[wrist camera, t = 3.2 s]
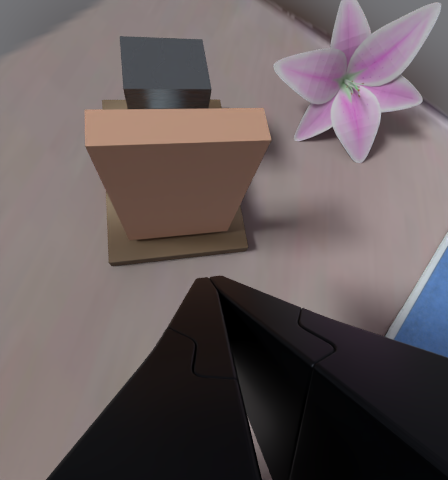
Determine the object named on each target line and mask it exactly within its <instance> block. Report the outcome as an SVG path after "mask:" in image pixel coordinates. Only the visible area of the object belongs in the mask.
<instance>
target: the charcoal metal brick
mask: <svg viewBox="0 0 448 480" xmlns="http://www.w3.org/2000/svg"><path fill="white" fill-rule="evenodd" d="M120 46H121V60H122V75H123V89H124V94H125V99H126V104H127V108H128V109H159V108H185V109H209V102H210V95H211V85H210V79H209V74H208V68H207V63H206V57H205V52H204V46H203V41H202V40H201V39H175V38H149V37H123V36H120Z"/></svg>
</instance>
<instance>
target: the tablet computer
mask: <svg viewBox="0 0 448 480" xmlns="http://www.w3.org/2000/svg"><path fill="white" fill-rule="evenodd" d="M385 337H387V338H390V339H393V340H396V341H399V342H402V343H405V344H409V345H412V346H415V347H418V348H421V349H424V350H427V351H430V352H433V353H436V354H439V355H442V356H445V357H448V232H447V234H446V235H445V237H444V239H443V240H442V242H441V244H440V245H439V247H438V249H437V250H436V252H435V254H434V256H433V257H432V259H431V261H430V262H429V264H428V266H427V267H426V269H425V271H424V272H423V274H422V276H421V277H420V279H419V281H418V282H417V284H416V286H415V287H414V289H413V291H412V293H411V294H410V296H409V298H408V299H407V301H406V302H405V304H404V306H403V308H402V309H401V310H400V312H399V313H398V315H397V317H396V319H395V320H394V322H393V323H392V325H391V326H390V328H389V330H388V332H387V334H386V335H385Z"/></svg>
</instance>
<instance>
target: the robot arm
mask: <svg viewBox="0 0 448 480" xmlns="http://www.w3.org/2000/svg"><path fill="white" fill-rule="evenodd" d="M247 416H248V418H247ZM248 419H249V421H250V424H251V426H252V429H253V431H254V434H255V436H256V439H257V441H258V444H259V446H260V449H261V452H262V454H263V457H264V459H265V462H266V464H267V467H268V469H269V472H270V474H271V477H272V479H273V480H448V357H445V356H442V355H439V354H436V353H433V352H430V351H427V350H424V349H421V348H418V347H415V346H412V345H409V344H405V343H402V342H399V341H396V340H393V339H390V338H387V337H384V336H381V335H378V334H375V333H372V332H369V331H366V330H363V329H360V328H356V327H353V326H350V325H348V324H345V323H342V322H339V321H336V320H333V319H330V318H327V317H325V316H322V315H320V314H317V313H314V312H312V311H309V310H307V309H304V308H302V309H301V308H300V307H298V306H296V305H293V304H291V303H288V302H286V301H283V300H281V299H278V298H276V297H273V296H271V295H268V294H266V293H263V292H261V291H258V290H256V289H253V288H251V287H248V286H246V285H243V284H241V283H239V282H236V281H234V280H231V279H229V278H226V277H224V276H214V277H210V278H208V277H205V278H197V279H196V280H195V281H194V283H193V285H192V286H191V288H190V290H189V292H188V293H187V295H186V297H185V298H184V300H183V302H182V303H181V305H180V307H179V309H178V310H177V312H176V314H175V315H174V317H173V319H172V320H171V322H170V324H169V326H168V327H167V329H166V330H165V332H164V333H163V335H162V337H161V338H160V340H159V341H158V343H157V344H156V346H155V347H154V349H153V350H152V352H151V353H150V354H149V355H148V357H147V358H146V359H145V361H144V362H143V363H142V364H141V366H140V367H139V368H138V369H137V371H136V372H135V373H134V374H133V375H132V377H131V378H130V379H129V380H128V381H127V383H126V384H125V385H124V386H123V387H122V389H121V390H120V391H119V392H118V393H117V395H116V396H115V397H114V398H113V399H112V401H111V402H110V403H109V404H108V405H107V407H106V408H105V409H104V410H103V412H102V413H101V414H100V415H99V416H98V418H97V419H96V420H95V421H94V422H93V424H92V425H91V426H90V427H89V428H88V430H87V431H86V432H85V433H84V434H83V436H82V437H81V438H80V439H79V440H78V442H77V443H76V444H75V445H74V447H73V448H72V449H71V450H70V451H69V453H68V454H67V455H66V456H65V457H64V459H63V460H62V461H61V462H60V463H59V465H58V466H57V467H56V468H55V469H54V471H53V472H52V473H51V474H50V475H49V477H48V478H47V479H46V480H262V478H261V474H260V469H259V465H258V461H257V456H256V452H255V448H254V443H253V439H252V435H251V430H250V426H249V422H248Z"/></svg>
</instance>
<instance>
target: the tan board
mask: <svg viewBox="0 0 448 480" xmlns="http://www.w3.org/2000/svg"><path fill="white" fill-rule="evenodd" d="M102 107H103V110H114V109H128V108H127V104H126V100H102ZM219 108H221V103H220V100H210V102H209V109H219ZM106 205H107V229H108V254H109V264H110V265H111V266H118V265H127V264H136V263H145V262H154V261H163V260H171V259H180V258H189V257H198V256H207V255H216V254H225V253H234V252H243V251H246V250H247V248H248V243H247V238H246V233H245V228H244V223H243V217H242V212H241V207H240V206H239V208H238V210H237V212H236V214H235V216H234V218H233V220H232V222H231V224H230V227H229V229H228V231H222V232H212V233H201V234H191V235H181V236H170V237H160V238H149V239H139V240H129V239H128V236H127V234H126V232H125V230H124V228H123V226H122V224H121V222H120V219H119V217H118V215H117V213H116V211H115V209H114V207H113V204H112V202H111V200H110V198H109V196H108V194H107V192H106Z"/></svg>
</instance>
